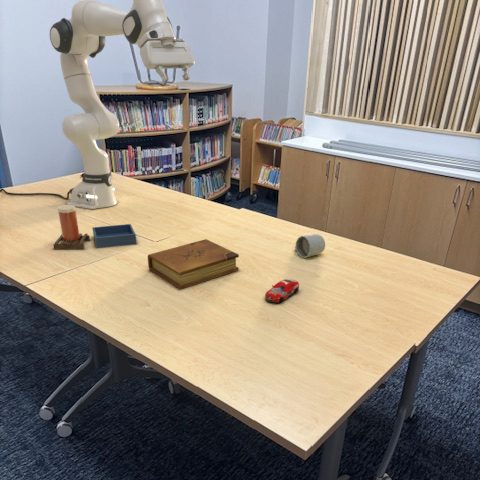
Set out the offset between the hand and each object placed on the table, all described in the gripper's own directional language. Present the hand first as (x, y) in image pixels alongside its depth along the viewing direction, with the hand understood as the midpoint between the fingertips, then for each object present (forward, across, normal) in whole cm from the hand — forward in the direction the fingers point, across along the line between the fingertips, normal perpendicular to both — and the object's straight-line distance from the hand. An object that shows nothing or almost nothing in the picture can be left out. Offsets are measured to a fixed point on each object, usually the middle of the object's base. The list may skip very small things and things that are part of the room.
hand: (176, 80), depth 163 cm
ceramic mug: (+71, -15, +17) cm, 75 cm away
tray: (+42, +25, -35) cm, 60 cm away
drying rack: (+38, +38, -42) cm, 69 cm away
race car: (+77, +17, +30) cm, 85 cm away
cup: (+36, +38, -41) cm, 67 cm away
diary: (+62, +23, +1) cm, 66 cm away
